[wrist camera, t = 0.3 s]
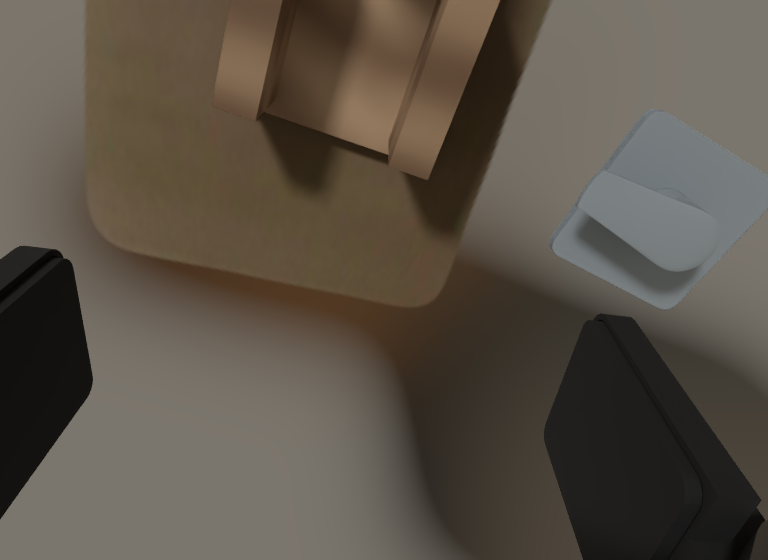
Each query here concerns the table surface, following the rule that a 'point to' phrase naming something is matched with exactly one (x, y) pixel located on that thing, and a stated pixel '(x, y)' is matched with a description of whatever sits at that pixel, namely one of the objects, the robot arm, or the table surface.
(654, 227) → the shower valve
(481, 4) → the slot block
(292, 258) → the table surface
